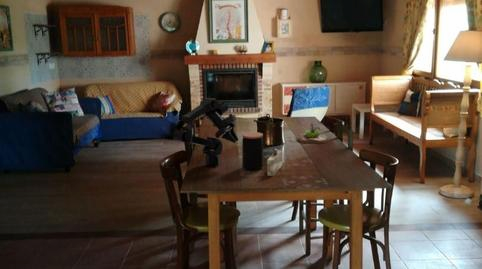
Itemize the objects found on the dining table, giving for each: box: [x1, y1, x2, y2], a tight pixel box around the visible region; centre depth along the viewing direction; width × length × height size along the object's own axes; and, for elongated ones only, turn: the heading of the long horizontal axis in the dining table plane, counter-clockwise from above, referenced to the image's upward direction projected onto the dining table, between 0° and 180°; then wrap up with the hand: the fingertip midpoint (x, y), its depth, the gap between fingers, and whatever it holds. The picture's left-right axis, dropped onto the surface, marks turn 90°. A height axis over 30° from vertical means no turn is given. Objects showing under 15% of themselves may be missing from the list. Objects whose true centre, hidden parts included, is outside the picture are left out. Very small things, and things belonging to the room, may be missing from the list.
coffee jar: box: [241, 131, 264, 172], centre depth 241 cm, size 11×11×18 cm
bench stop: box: [266, 148, 284, 177], centre depth 238 cm, size 3×20×11 cm, turn 162°
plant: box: [296, 122, 329, 144], centre depth 303 cm, size 20×20×11 cm
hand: (236, 141), depth 243 cm, fingers open, 4 cm apart
